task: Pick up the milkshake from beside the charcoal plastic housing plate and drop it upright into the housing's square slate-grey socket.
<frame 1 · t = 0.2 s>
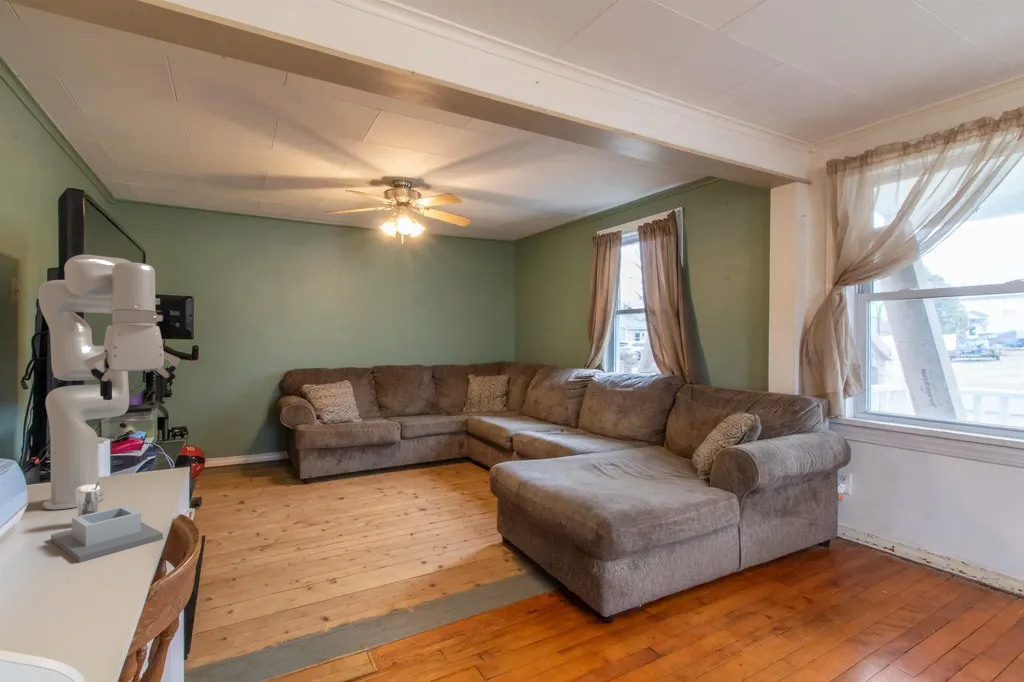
hand: (134, 397, 108), 31 cm above the table, tool pointing down, fingers open, 9 cm apart
housing: (106, 539, 107), on the table
milkshake: (89, 524, 117), on the table
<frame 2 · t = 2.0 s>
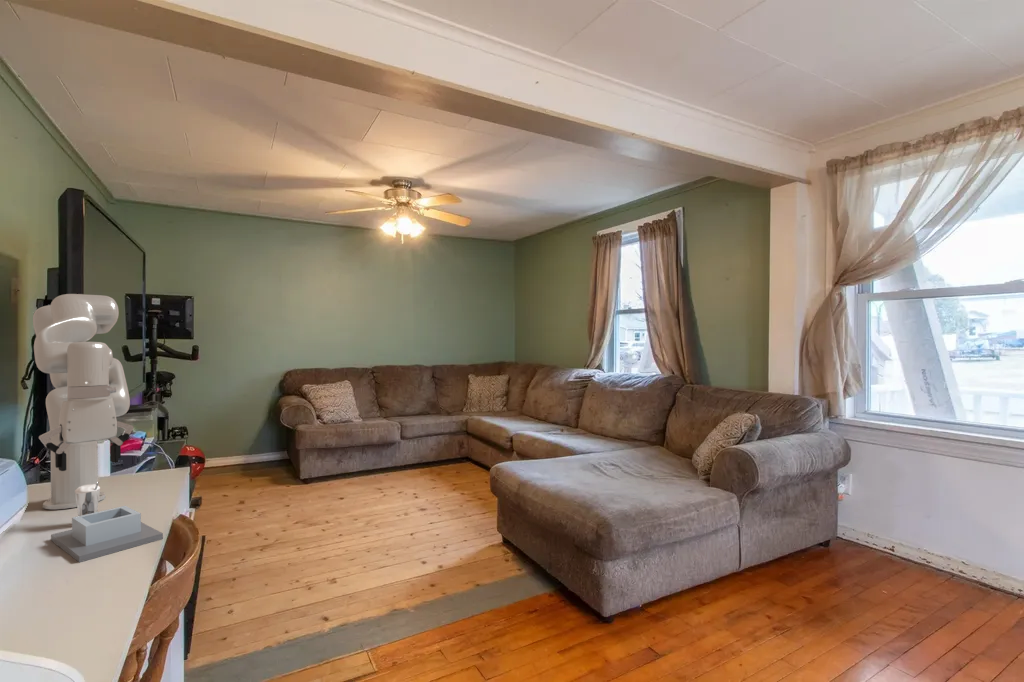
hand: (89, 466, 117), 14 cm above the table, tool pointing down, fingers open, 9 cm apart
nothing on the table moved.
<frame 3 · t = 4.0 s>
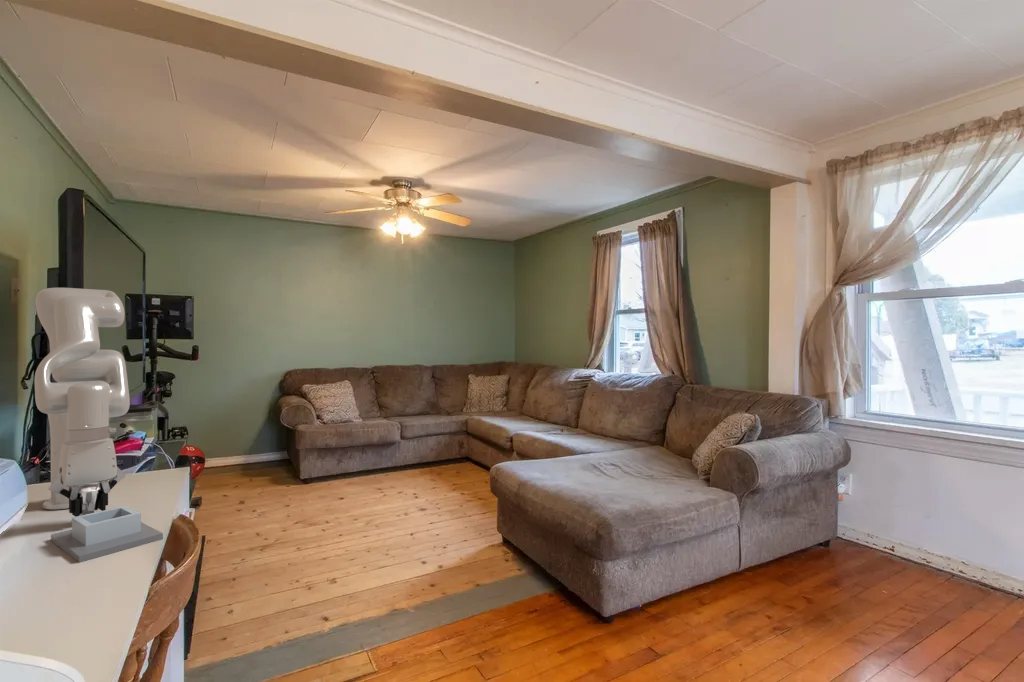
hand: (89, 511, 117), 3 cm above the table, tool pointing down, fingers closed on milkshake, 4 cm apart
milkshake: (89, 524, 117), on the table, touching gripper
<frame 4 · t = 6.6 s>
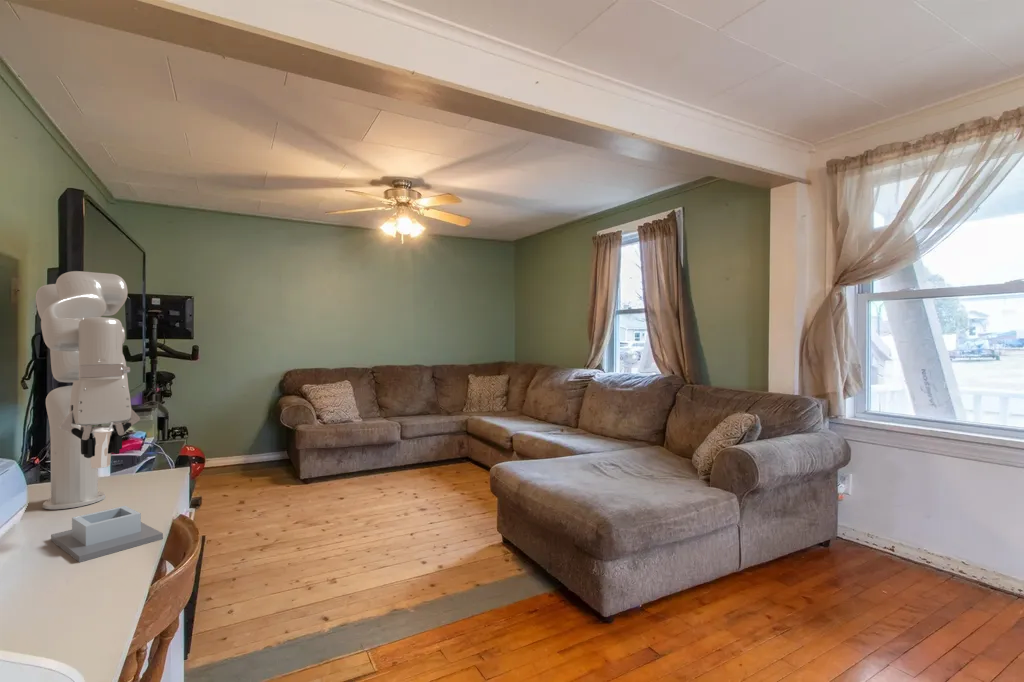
hand: (101, 454, 110), 18 cm above the table, tool pointing down, fingers closed on milkshake, 4 cm apart
milkshake: (102, 467, 109), point 15 cm above the table, touching gripper
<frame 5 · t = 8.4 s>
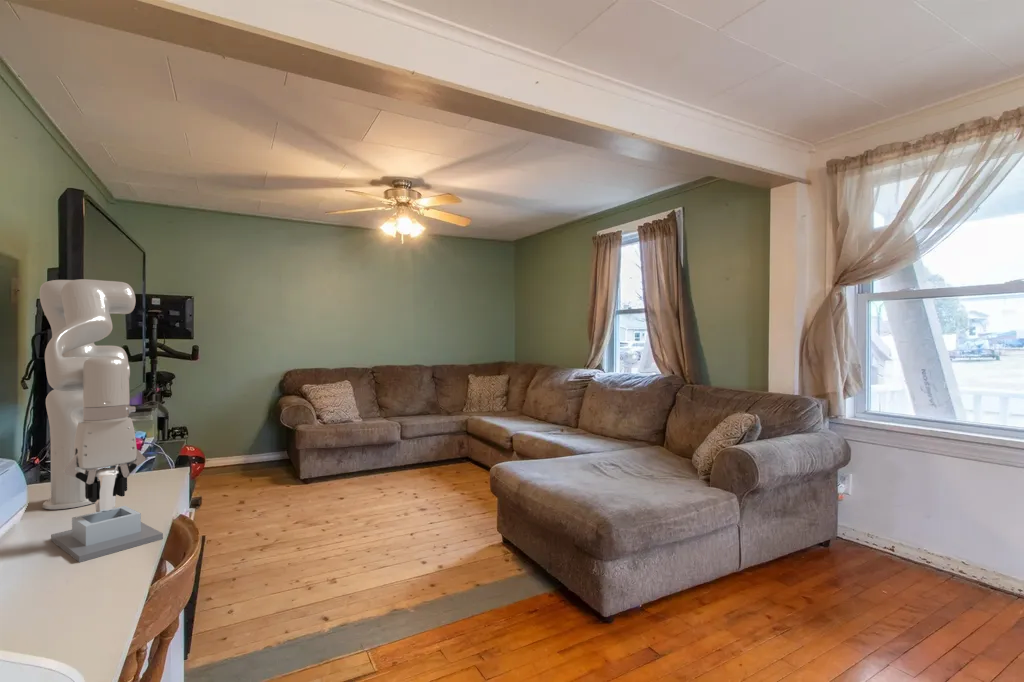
hand: (106, 497, 107), 9 cm above the table, tool pointing down, fingers closed on milkshake, 4 cm apart
milkshake: (106, 511, 107), point 6 cm above the table, touching gripper
when the fingers open (7 cm above the table, at t = 9.6 s): milkshake drops 3 cm, resting on housing.
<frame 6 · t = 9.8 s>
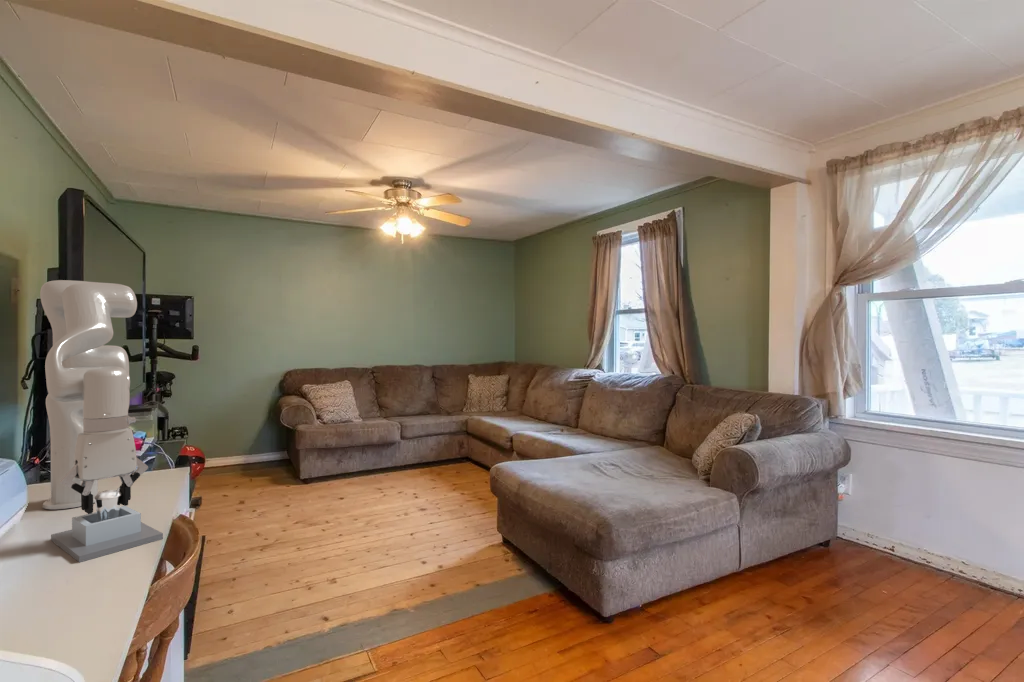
hand: (106, 507, 107), 7 cm above the table, tool pointing down, fingers open, 5 cm apart
milkshake: (109, 533, 108), point 1 cm above the table, touching gripper, housing
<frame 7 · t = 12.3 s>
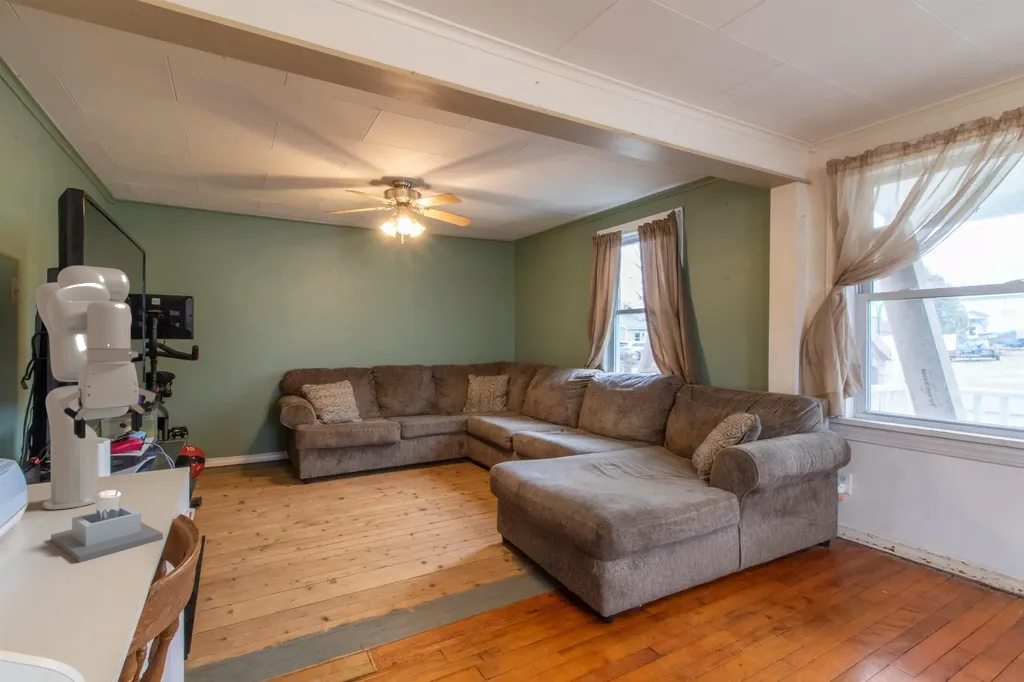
hand: (109, 434, 109), 22 cm above the table, tool pointing down, fingers open, 9 cm apart
milkshake: (109, 533, 108), point 1 cm above the table, touching housing
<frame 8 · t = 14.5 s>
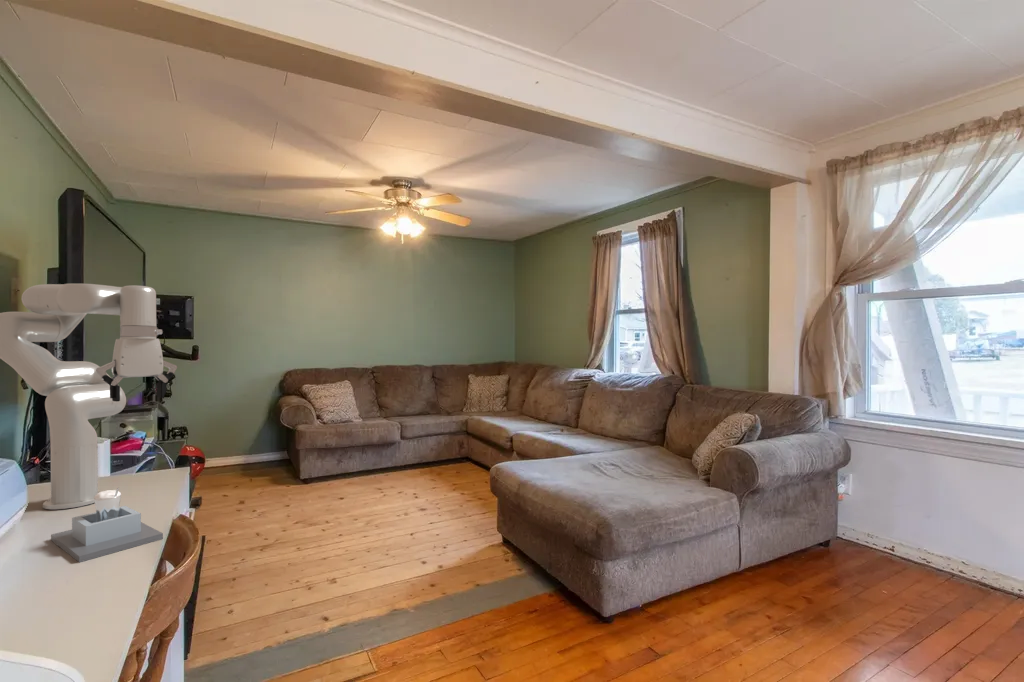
hand: (138, 399, 128), 28 cm above the table, tool pointing down, fingers open, 9 cm apart
nothing on the table moved.
at the end: milkshake 0.6 cm off-centre on the housing, point 1.0 cm above the housing's base; milkshake tilted 0°; the gripper is holding nothing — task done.
